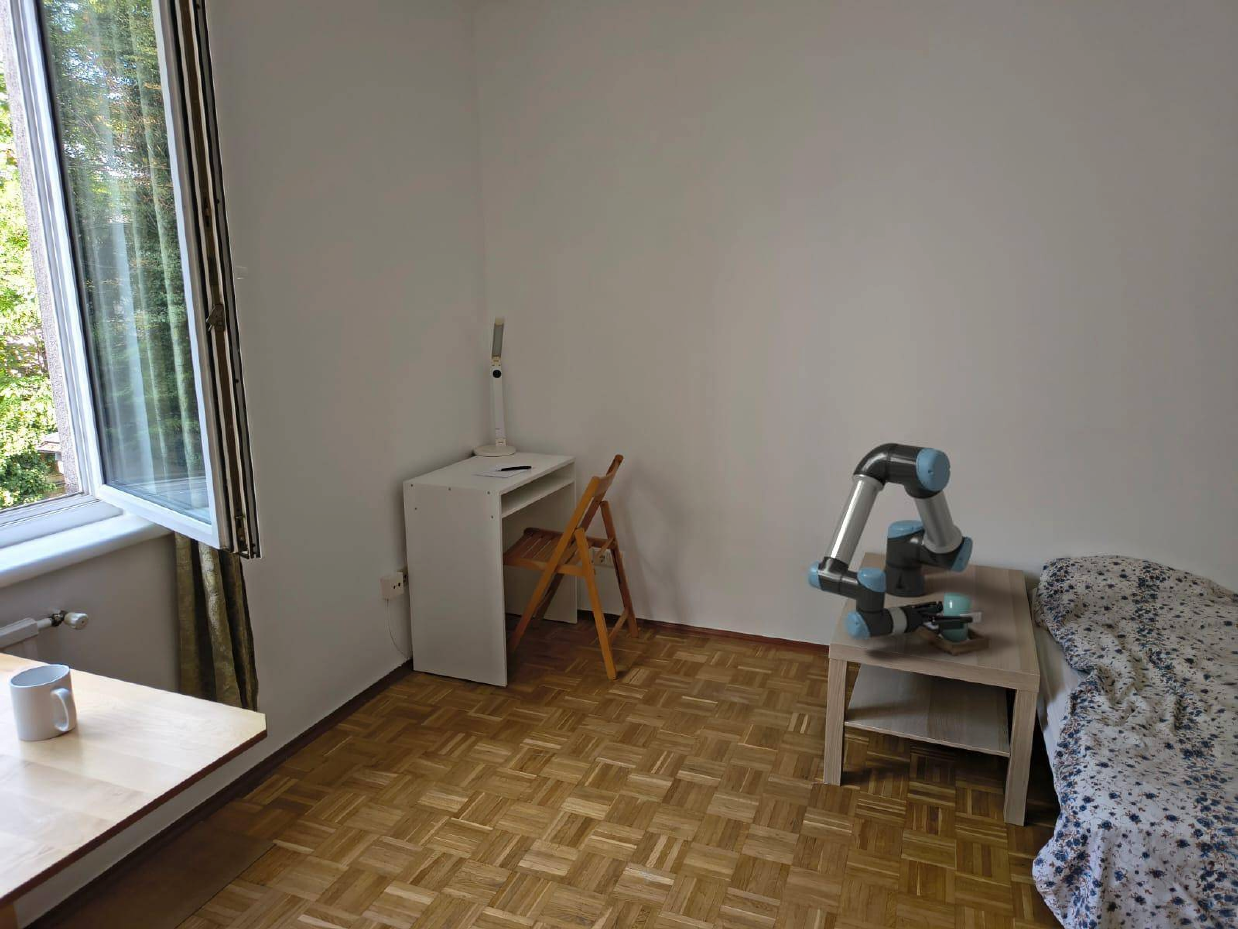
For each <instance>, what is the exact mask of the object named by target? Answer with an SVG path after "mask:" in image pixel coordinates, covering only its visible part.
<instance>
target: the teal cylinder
mask: <svg viewBox="0 0 1238 929" xmlns="http://www.w3.org/2000/svg"><path fill="white" fill-rule="evenodd" d="M971 603H972V597H971V596H969V595H967V594H965V593H961V592H947V593H945V594H944V601H943V604H944V609H943V611H942V615H943V616H960V614H968V613H971V607H972V606H971ZM969 624H970V623H968V624H964V629H950V630H942V631H941V636H942V637H943V638H945V639H947V640H950V641H956V642H961V641H965V640H967V636H968V627H969Z"/></svg>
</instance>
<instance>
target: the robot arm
mask: <svg viewBox="0 0 1238 929" xmlns="http://www.w3.org/2000/svg"><path fill="white" fill-rule="evenodd" d="M950 469H951V462H950V459H949V457H948V456H947V454H946V453H945V451H942V450H939V449H936V448H934V447H933V448H932V447H924V446H918V445H910V444H909V445H908V444H902V443H901V444H900V443H895V442H888V443H882V444H880V445H878V446H876V447H875V448H873V449H871V450H869V452H868V453H867V454H865V456H864V457H862V459H861V460H860V461H859V462H858V464H857V466H856V467H855V468H854V471H853V473H852V476H851V480H852V483H853V484H852V486H851V488H850V491H849V493H848V496H847V498H846V501H845V503H844V506H843V508H842V512H841V513H840V515H839V519H838V521H837V524H836V526H835V528H834V531H833V533H832V536H831V540H830V541H829V543H828V547H827V549H826V551H825V554H824V556H823V559H822V561H821V562H820V561H819V562H818V561H815V562H813V563H812V564H811V566H810V567H809V569H808V572H807V582H808V585H809V586H810V587H811V588H813V589H815V590H816V589H817V590H819V591H822V592H826V593H830V594H834V595H838V596H840V597H845V598H848V599H851V600H855V610H852V611H849V612H848V613H847V614H846V617H845V620H844V621H845V629H846V631H847V634H848V635H849V636H850V637H851V638H853V639H857V640H858V639H870V638H877V637H878V638H879V637H883V636H890V637H891V636H892V635H893V636H894V635H902V634H911V633H912V634H913V633H915V632H917V631H918V630H919V629H920V628H924V627H930V628H931V631H938V630H950V629H964V624H968V623H969V624H975V623H981V622H982V621H981V620H982V612H980V611H977V612H970V613H968V614H960V616H943V614H941V613H943V609H944V603H943V601H942V600H938V601H936V600H935V601H934V600H933V601H927V602H920V603H916V604H906V605H901V606H892V607H885V603H886V602H885V601H886V594H888V595H892V596H896V597H903V598H914V597H920V596H923V595H925V594H926V592H927V582H926V578H925V575H924V570H923V566H928V567H932V568H936V569H941V570H945V571H949V572H951V573H952V572H954V573H955V572H956V573H963V572H964V571H965V569H966V568H967V566H968V565H969V561H970V559H971V556H972V552H973V547H974V546H973V545H974V541H973V539H972V538H971V537H969V536H964V535H963V533H962V531H961V529H960V528H959V527H958V526H957V525H955V524H954V521H953V518H952V515H951V512H950V508H949V506H948V502H947V498H946V495H945V493H944V489H945V488H947V485H948V483H949V480H950V478H951V471H950ZM887 483H890V484H895V485H902V486H903V488H904V490H905V493H906V494H907V495H908V496H910V497H911V498H913V499H914V503H915V505H916V509H917V511H918V514H919V518H920V520H917V519H916V520H915V519H914V520H913V519H904V520H898V521H894V522H892V523H890V524H889V526H888V530H887V535H886V552H885V553H886V554H885V564H884V565H885V566H884V567H883V570H882V569H880V568H876V567H871V566H865V567H861V568H859V569H858V572H856V571H854V570H853V571H852V570H850V569H849V568H850V565H851V562H852V560H853V557H854V555H855V552H856V550H857V547H858V545H859V542H860V540H861V537H862V534H863V532H864V530H865V526H866V524H867V522H868V519H869V518H870V515H871V511H872V509H873V507H874V503H875V501H876V499H877V496H878V495H879V492H882V491H883V490H884V488H885V486H886V485H887ZM939 614H941V615H939Z"/></svg>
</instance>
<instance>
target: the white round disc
mask: <svg viewBox="0 0 1238 929" xmlns="http://www.w3.org/2000/svg"><path fill="white" fill-rule="evenodd" d="M938 636H940V637H942V636H941V634H939V635H938ZM942 638H943V637H942ZM944 639H945V638H944ZM946 640H947V639H946ZM969 640H970V639H969V638H968V637H967V640H965V641H969ZM948 641H950V640H948ZM965 641H961V642H965ZM950 642H951V643H953V644H957V643H961V642H956V641H950Z"/></svg>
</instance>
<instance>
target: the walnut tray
mask: <svg viewBox="0 0 1238 929" xmlns="http://www.w3.org/2000/svg"><path fill="white" fill-rule="evenodd" d="M941 631H942V630H938V631H931V628H930V627H920V633H919V638H920V639H922V640H923V641H925V642H927V643H929V644H931V645H932V646H934V647H936V648H938V649H940V650H942V651H943V652H946V653H947V654H948V655H951V656H953V657H955V656H959V654H960V655H965V654H968V653H972V652H976V651H980V650H983V649H987V648H989V645H990V644H989V643H990V637H989V636H987V635H984V634H983V633H981V632H979V631H977V630H974V629H973V628H972V627H969V626H968V636H967V637H968V638H969V639H970V640H969V641H965V642H961V643H957V644H953V643H951V642H950V641H948V640H946V639H944V638H942V637H940V636H938V635H939V634H941Z"/></svg>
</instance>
